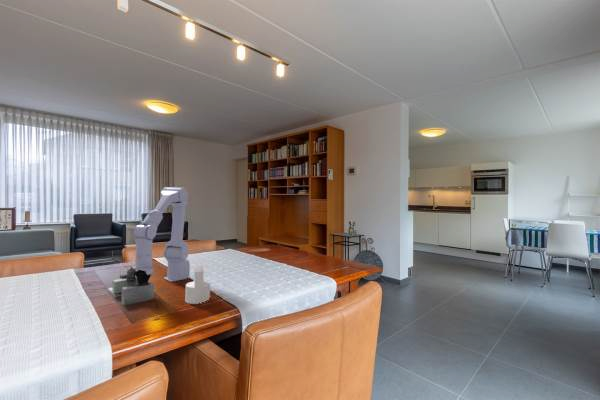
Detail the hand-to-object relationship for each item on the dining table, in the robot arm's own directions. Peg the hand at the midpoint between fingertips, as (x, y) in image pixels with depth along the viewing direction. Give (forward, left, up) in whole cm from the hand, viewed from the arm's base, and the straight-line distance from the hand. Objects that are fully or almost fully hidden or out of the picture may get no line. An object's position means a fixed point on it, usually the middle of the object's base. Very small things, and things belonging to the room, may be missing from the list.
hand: (142, 288), depth 109 cm
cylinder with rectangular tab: (-13, +19, -3) cm, 23 cm away
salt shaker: (+4, 0, -3) cm, 5 cm away
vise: (+4, -3, -2) cm, 5 cm away
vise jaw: (+4, -7, -1) cm, 8 cm away
